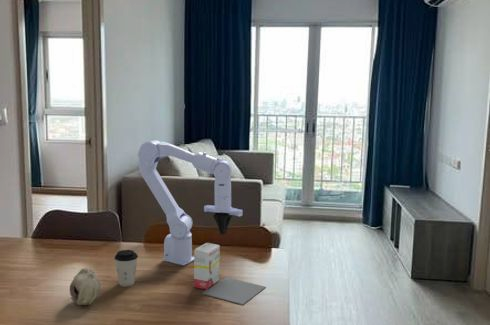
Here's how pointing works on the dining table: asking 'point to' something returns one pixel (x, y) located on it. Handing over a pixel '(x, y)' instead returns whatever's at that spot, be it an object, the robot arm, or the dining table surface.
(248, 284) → the mat
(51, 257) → the dining table surface
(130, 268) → the coffee cup
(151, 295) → the dining table surface
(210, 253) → the ink box
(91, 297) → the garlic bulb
